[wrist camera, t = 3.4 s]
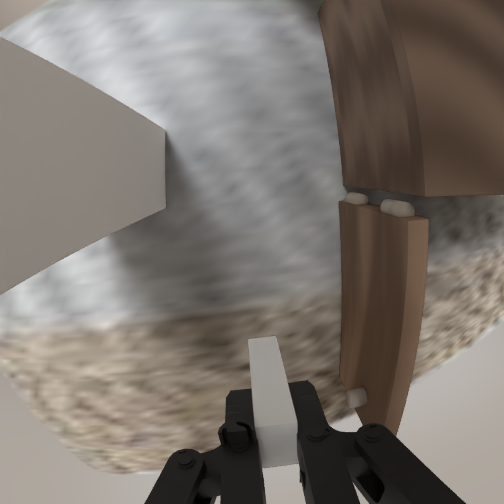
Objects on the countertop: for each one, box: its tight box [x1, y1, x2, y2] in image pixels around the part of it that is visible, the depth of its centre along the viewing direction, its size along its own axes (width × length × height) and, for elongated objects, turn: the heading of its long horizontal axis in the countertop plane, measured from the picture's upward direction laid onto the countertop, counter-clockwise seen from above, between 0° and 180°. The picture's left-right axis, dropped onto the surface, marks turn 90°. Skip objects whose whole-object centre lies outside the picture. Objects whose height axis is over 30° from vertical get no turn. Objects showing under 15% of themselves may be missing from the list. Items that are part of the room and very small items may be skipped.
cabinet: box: [318, 0, 504, 197], centre depth 15 cm, size 15×17×11 cm
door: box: [339, 192, 429, 436], centre depth 19 cm, size 2×17×10 cm, turn 6°
